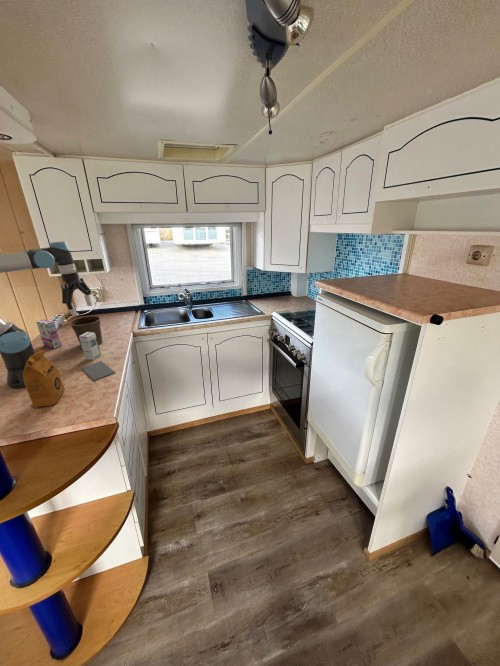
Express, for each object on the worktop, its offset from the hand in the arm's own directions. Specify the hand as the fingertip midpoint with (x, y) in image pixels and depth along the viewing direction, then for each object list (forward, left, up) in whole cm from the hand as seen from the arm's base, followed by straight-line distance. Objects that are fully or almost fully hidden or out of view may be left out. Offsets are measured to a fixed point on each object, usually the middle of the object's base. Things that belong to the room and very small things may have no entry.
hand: (82, 310), depth 151 cm
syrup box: (-3, -10, -26) cm, 28 cm away
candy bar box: (-14, +26, -26) cm, 39 cm away
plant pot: (+3, +10, -26) cm, 28 cm away
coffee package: (-30, -38, -26) cm, 55 cm away
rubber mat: (-7, -28, -25) cm, 38 cm away
